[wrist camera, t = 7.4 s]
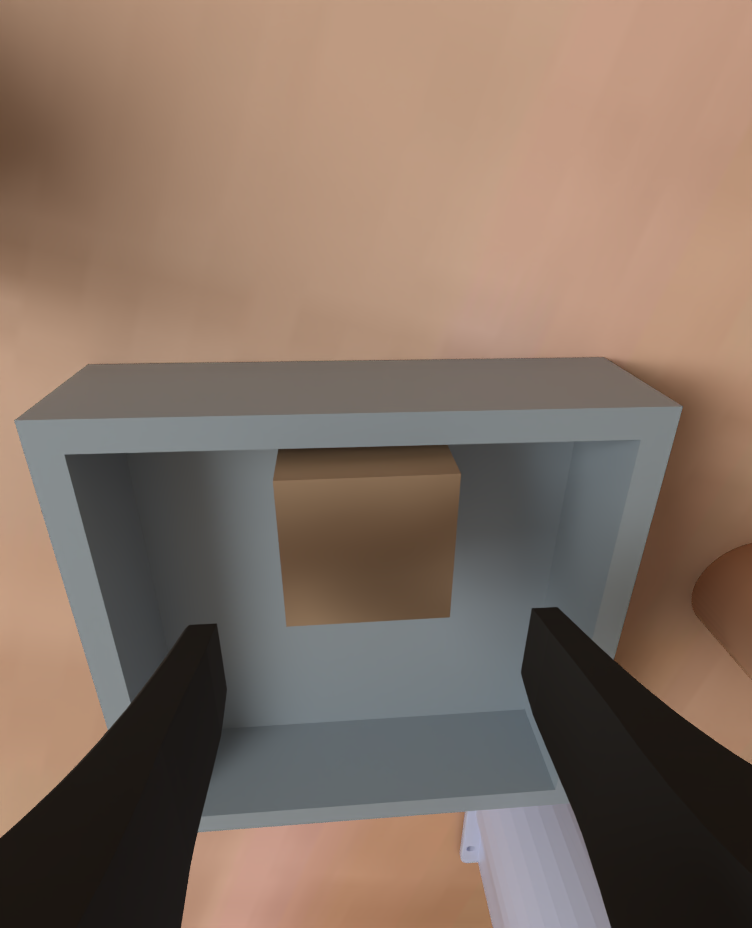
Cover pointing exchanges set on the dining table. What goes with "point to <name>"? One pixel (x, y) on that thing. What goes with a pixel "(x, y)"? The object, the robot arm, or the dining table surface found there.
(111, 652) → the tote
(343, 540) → the walnut cube
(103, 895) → the robot arm
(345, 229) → the dining table surface
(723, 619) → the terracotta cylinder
